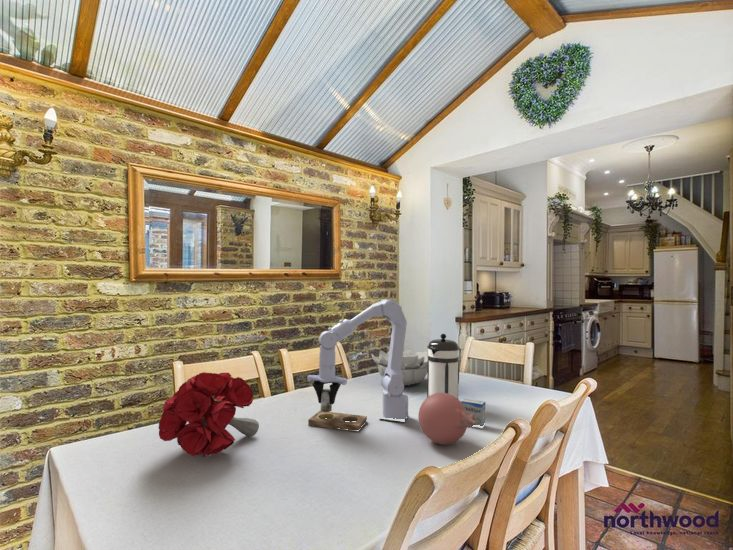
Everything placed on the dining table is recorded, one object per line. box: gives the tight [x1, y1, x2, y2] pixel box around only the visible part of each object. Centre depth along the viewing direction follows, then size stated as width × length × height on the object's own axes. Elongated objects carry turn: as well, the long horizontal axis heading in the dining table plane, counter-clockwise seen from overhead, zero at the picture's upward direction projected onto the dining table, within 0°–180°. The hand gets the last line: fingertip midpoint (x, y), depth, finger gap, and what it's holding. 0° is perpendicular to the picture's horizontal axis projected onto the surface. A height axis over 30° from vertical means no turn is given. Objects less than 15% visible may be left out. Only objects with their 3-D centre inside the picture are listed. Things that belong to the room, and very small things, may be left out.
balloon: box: [418, 393, 477, 445], centre depth 120 cm, size 15×20×15 cm
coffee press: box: [426, 333, 460, 399], centre depth 158 cm, size 17×16×30 cm
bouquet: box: [158, 371, 260, 458], centre depth 116 cm, size 22×24×30 cm
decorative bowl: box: [371, 349, 428, 386], centre depth 193 cm, size 30×30×15 cm
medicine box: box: [460, 398, 486, 426], centre depth 137 cm, size 8×4×9 cm, turn 62°
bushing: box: [320, 388, 333, 412], centre depth 138 cm, size 4×4×7 cm
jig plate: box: [307, 410, 368, 431], centre depth 137 cm, size 18×10×2 cm, turn 73°
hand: (326, 402), depth 138 cm, fingers closed on bushing, 4 cm apart
